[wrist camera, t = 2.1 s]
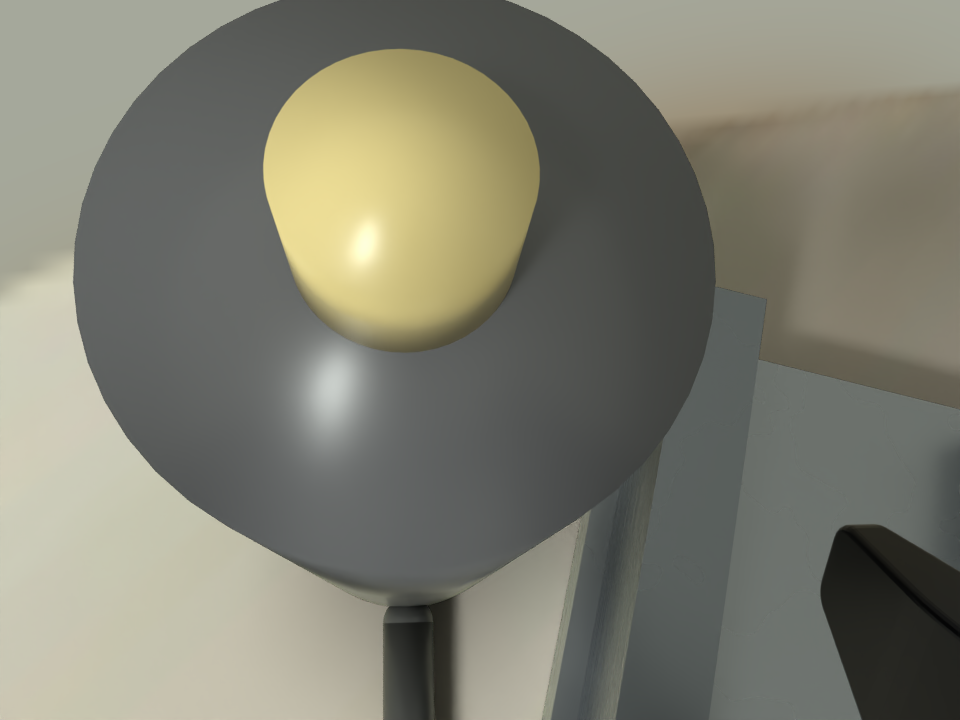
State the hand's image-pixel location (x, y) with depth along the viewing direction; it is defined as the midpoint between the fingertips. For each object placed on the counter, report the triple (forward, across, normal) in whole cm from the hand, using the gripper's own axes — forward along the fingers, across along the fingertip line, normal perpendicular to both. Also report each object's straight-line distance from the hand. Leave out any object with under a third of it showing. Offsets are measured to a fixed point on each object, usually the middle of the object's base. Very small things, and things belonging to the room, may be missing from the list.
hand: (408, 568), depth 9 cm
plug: (+6, 0, +8) cm, 10 cm away
